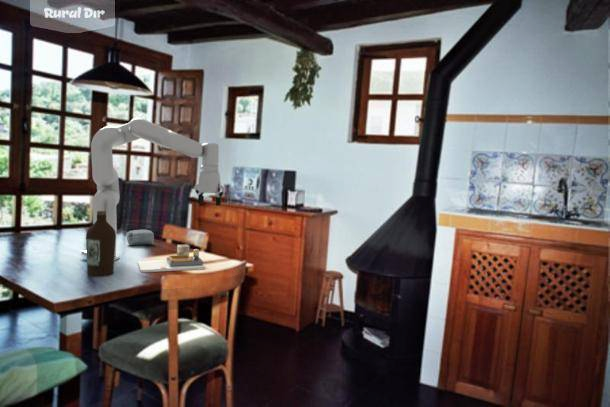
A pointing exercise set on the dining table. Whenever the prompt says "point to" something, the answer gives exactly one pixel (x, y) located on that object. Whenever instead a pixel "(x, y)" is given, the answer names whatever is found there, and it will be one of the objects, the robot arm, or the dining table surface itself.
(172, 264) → the carriage
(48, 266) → the dining table surface
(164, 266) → the index board
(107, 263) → the olive oil
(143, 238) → the rolled grey towel
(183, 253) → the link block
